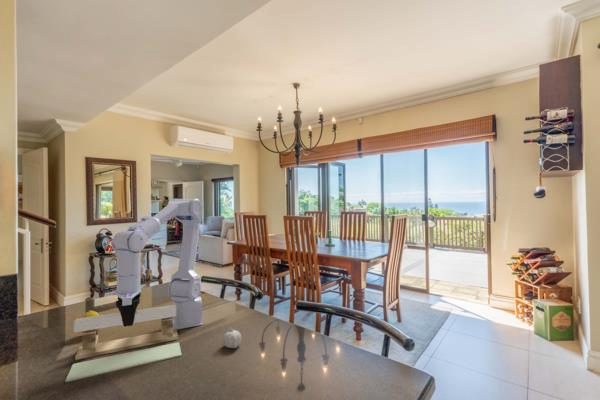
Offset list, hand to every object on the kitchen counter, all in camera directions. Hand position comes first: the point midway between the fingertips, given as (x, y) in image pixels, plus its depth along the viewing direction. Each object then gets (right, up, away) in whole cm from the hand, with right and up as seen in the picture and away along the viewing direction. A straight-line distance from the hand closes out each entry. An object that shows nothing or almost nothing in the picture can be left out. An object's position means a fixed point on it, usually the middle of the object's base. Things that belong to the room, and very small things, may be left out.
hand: (128, 323), depth 81 cm
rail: (0, 0, 0) cm, 0 cm away
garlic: (+27, -10, +7) cm, 30 cm away
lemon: (-20, -10, +14) cm, 27 cm away
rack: (-4, -10, +8) cm, 13 cm away
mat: (+1, -10, -1) cm, 10 cm away
